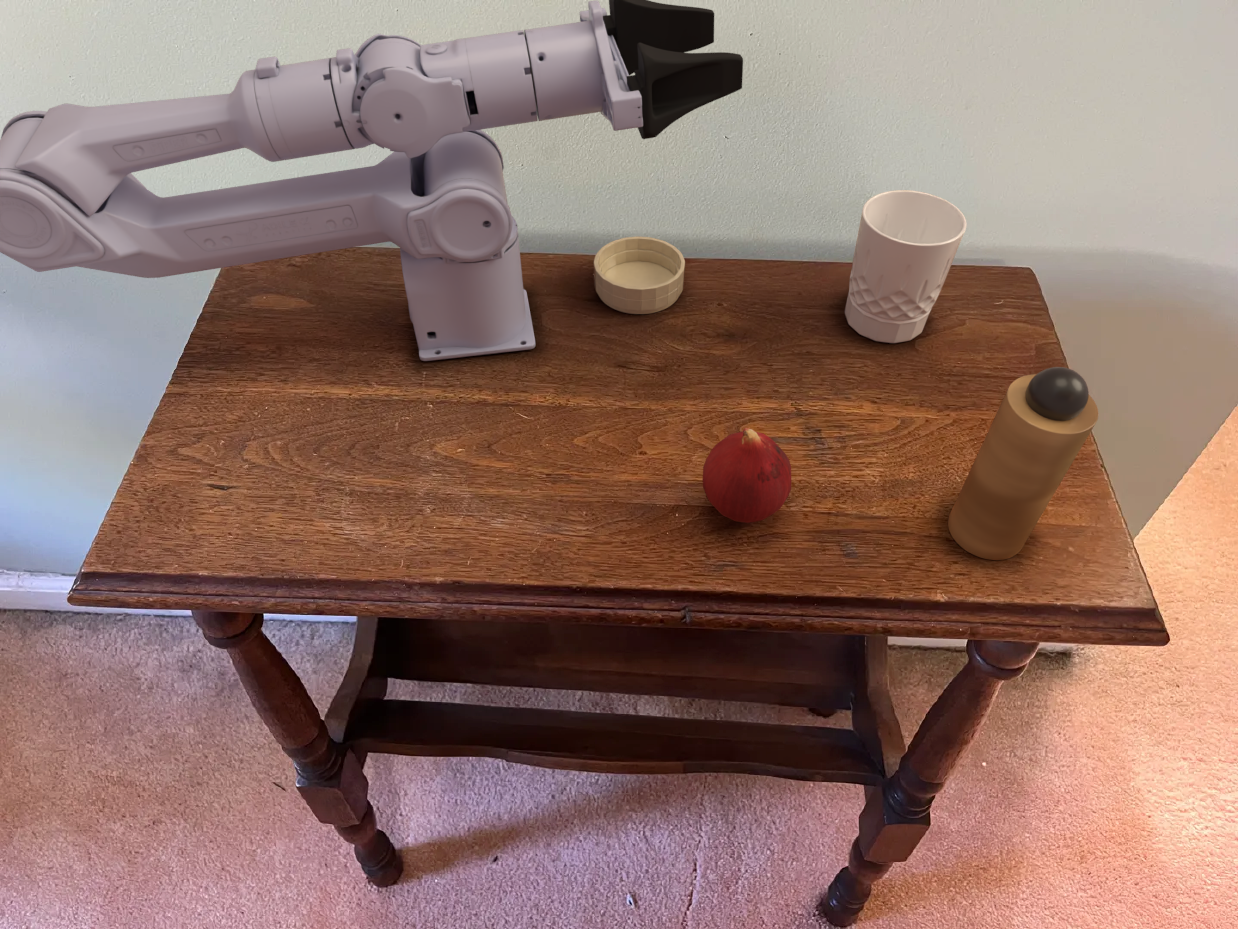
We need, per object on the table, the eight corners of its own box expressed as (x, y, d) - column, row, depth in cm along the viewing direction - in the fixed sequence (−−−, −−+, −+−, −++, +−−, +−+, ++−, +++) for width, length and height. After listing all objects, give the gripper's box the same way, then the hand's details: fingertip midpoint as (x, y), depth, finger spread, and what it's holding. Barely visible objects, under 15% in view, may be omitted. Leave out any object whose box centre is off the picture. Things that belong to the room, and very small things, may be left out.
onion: (781, 484, 61) (800, 403, 55) (784, 549, 57) (804, 469, 51) (700, 478, 61) (709, 396, 55) (697, 542, 57) (706, 462, 51)
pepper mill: (967, 565, 56) (1049, 410, 45) (935, 507, 59) (1004, 350, 49) (1037, 554, 56) (1134, 399, 46) (1002, 497, 60) (1084, 340, 49)
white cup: (819, 306, 74) (841, 204, 67) (890, 282, 77) (919, 180, 69) (877, 359, 70) (908, 255, 62) (950, 331, 72) (988, 228, 65)
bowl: (602, 320, 73) (602, 293, 71) (588, 267, 78) (587, 240, 76) (691, 310, 74) (694, 283, 72) (672, 258, 79) (673, 232, 77)
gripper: (534, 61, 50) (758, 29, 51) (512, -26, 60) (702, -52, 60) (549, 171, 55) (752, 140, 56) (527, 74, 65) (701, 49, 66)
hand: (726, 47), depth 59 cm, fingers open, 7 cm apart
